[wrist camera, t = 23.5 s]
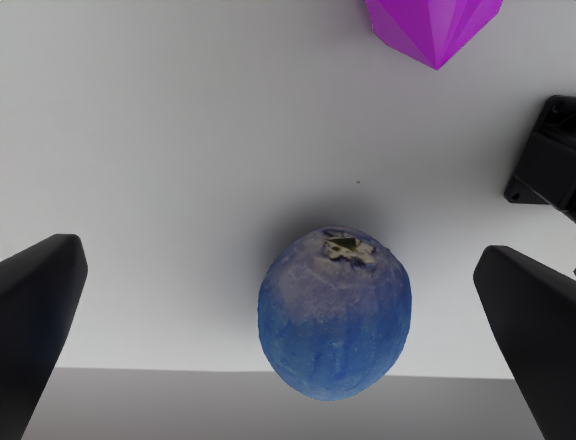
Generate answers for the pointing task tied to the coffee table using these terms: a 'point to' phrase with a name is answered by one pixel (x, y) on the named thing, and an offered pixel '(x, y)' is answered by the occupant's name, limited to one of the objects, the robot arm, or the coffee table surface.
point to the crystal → (429, 25)
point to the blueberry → (334, 312)
